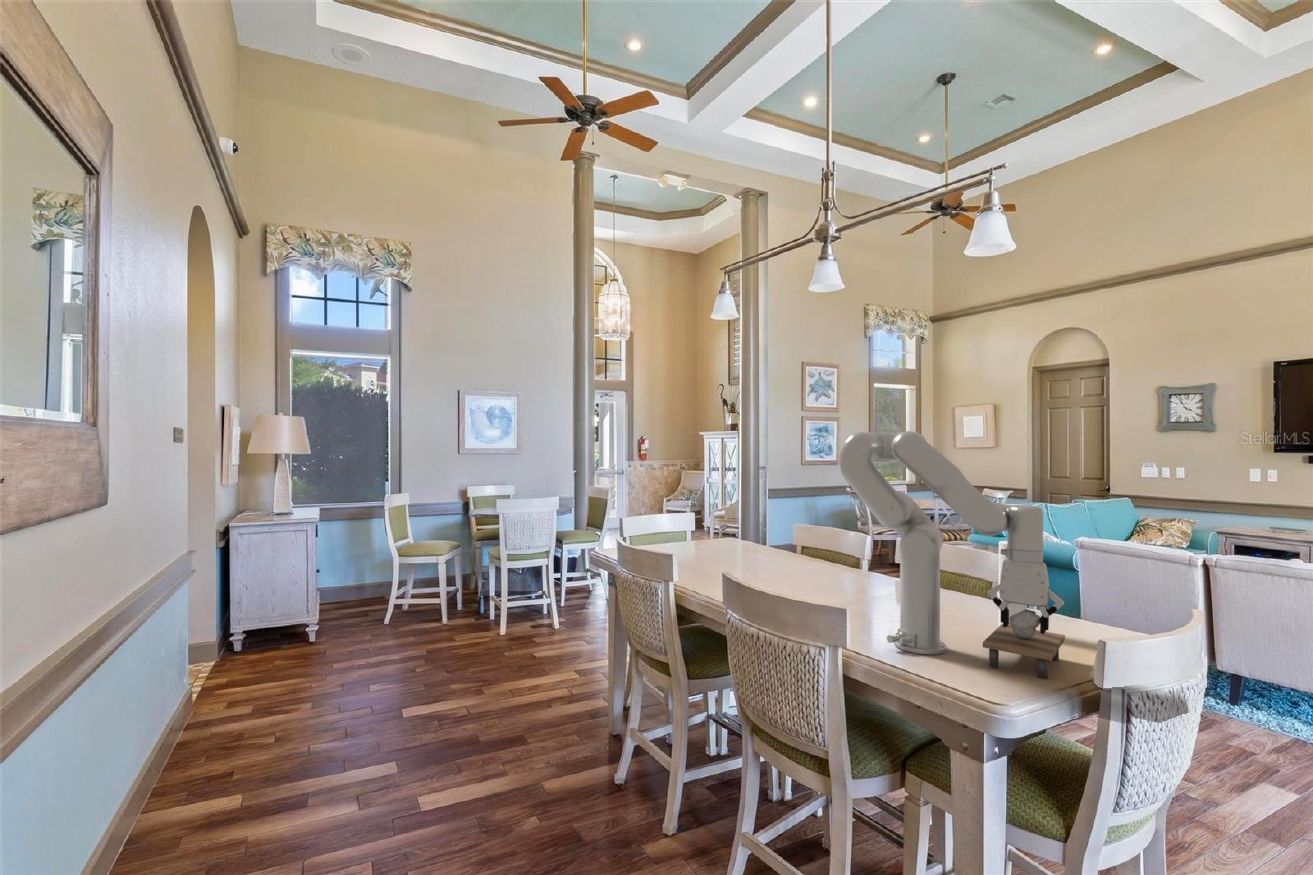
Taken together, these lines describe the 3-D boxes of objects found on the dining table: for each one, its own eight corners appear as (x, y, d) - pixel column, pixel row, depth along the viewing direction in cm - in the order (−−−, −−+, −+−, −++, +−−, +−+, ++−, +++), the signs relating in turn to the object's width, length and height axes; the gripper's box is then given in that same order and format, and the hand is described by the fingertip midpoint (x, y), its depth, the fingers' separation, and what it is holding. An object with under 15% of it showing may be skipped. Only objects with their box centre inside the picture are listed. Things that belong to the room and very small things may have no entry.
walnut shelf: (1051, 682, 142) (1051, 655, 142) (982, 667, 151) (982, 642, 151) (1064, 659, 157) (1064, 635, 157) (1001, 647, 166) (1001, 624, 166)
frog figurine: (1036, 644, 149) (1034, 614, 149) (1004, 637, 155) (1003, 608, 155) (1046, 639, 153) (1045, 609, 153) (1015, 633, 158) (1014, 604, 159)
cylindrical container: (1025, 636, 175) (1025, 545, 175) (996, 631, 180) (996, 543, 180) (1028, 630, 181) (1029, 542, 181) (1000, 625, 185) (1001, 540, 185)
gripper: (981, 553, 157) (981, 625, 157) (1064, 563, 146) (1064, 640, 145) (989, 550, 162) (988, 619, 162) (1069, 558, 151) (1068, 633, 151)
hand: (1024, 628), depth 154 cm, fingers open, 7 cm apart
